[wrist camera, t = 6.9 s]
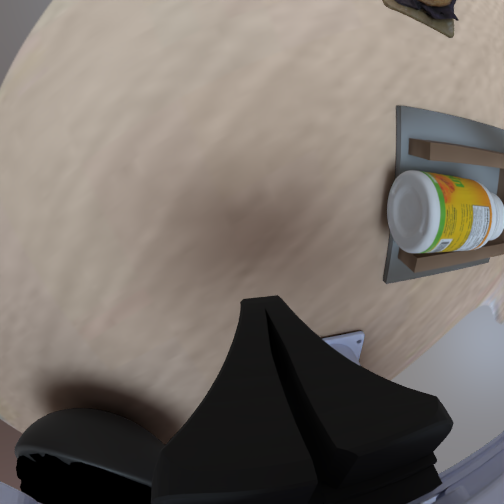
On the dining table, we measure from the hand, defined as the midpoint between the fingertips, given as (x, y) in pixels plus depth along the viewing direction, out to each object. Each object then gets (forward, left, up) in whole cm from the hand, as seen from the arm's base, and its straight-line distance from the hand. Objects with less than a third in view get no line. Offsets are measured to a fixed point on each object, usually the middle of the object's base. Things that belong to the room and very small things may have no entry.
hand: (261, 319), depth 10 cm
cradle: (+1, -19, -10) cm, 21 cm away
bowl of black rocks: (-23, +18, -10) cm, 31 cm away
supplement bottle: (+1, -10, -7) cm, 12 cm away
